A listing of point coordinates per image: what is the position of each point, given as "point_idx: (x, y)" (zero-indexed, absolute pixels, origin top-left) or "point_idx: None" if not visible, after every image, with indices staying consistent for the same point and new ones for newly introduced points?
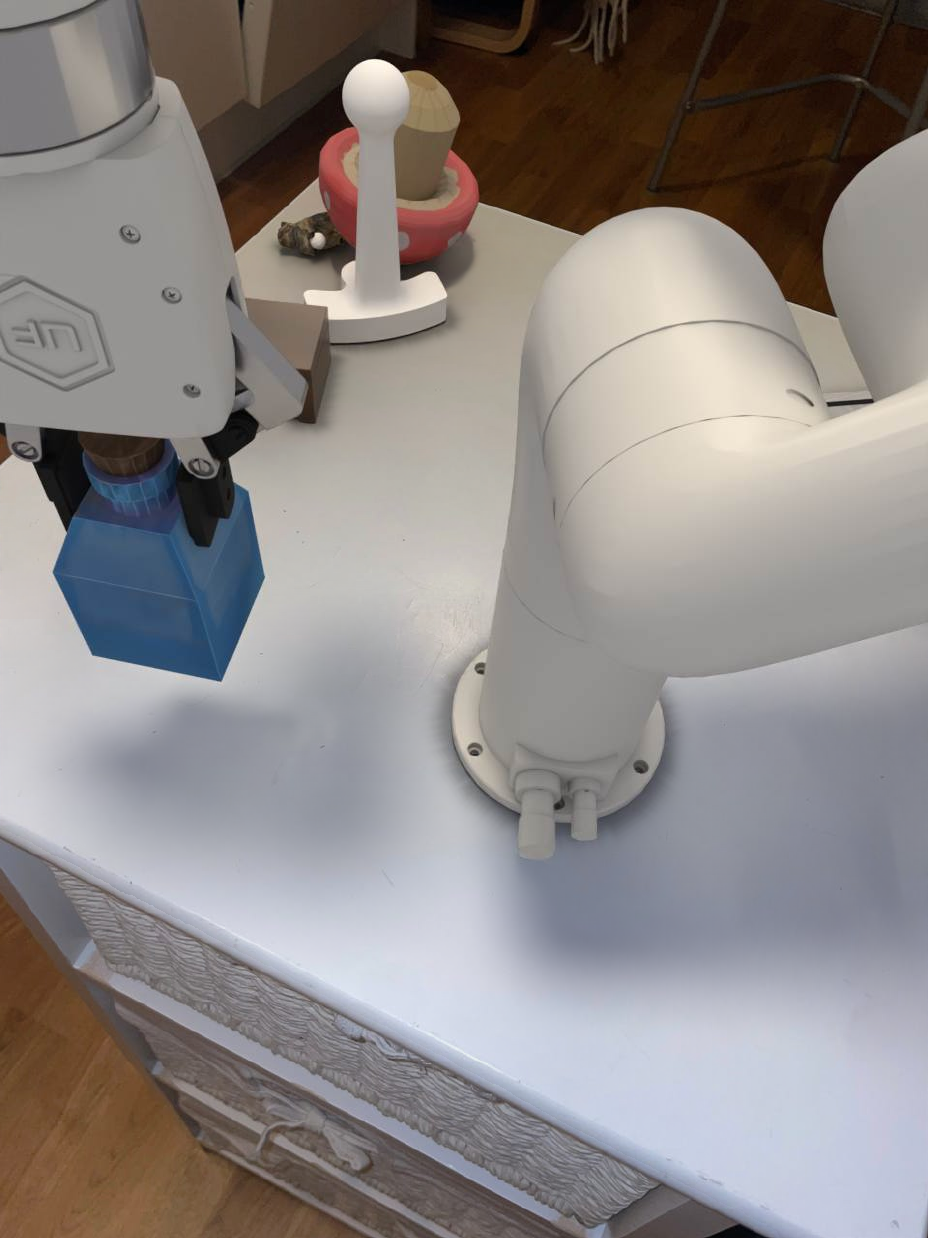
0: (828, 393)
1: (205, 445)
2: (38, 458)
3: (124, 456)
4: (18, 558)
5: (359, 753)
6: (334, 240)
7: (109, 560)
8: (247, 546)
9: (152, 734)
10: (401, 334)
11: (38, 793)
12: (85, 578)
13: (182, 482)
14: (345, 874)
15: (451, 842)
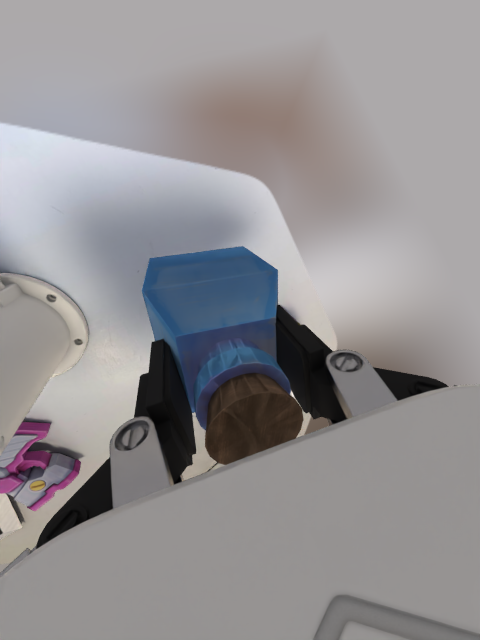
0: (5, 536)
1: (112, 481)
2: (328, 358)
3: (231, 406)
4: (319, 307)
5: (117, 274)
6: None
7: (231, 294)
8: None
9: (222, 246)
10: (215, 466)
11: (259, 196)
12: (248, 274)
13: (155, 403)
14: (82, 204)
15: (35, 243)
